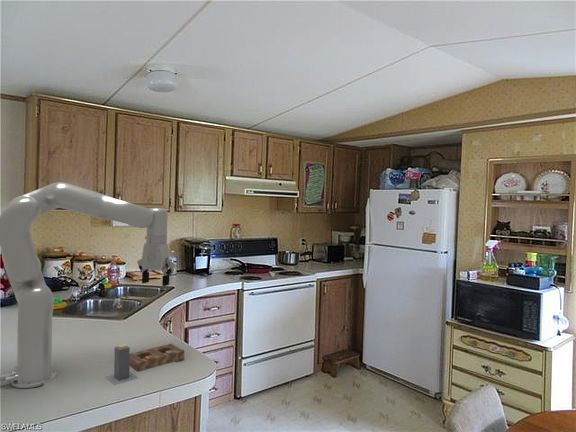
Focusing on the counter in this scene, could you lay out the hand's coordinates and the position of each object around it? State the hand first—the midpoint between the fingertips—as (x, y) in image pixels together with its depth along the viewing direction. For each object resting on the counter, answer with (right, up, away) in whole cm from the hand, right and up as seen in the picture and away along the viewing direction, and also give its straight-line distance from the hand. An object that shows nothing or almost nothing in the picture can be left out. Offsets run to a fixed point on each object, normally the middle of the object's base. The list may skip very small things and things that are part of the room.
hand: (155, 284), depth 155 cm
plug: (-4, -27, -22) cm, 35 cm away
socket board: (+2, -28, -7) cm, 29 cm away
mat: (-4, -28, -22) cm, 36 cm away
